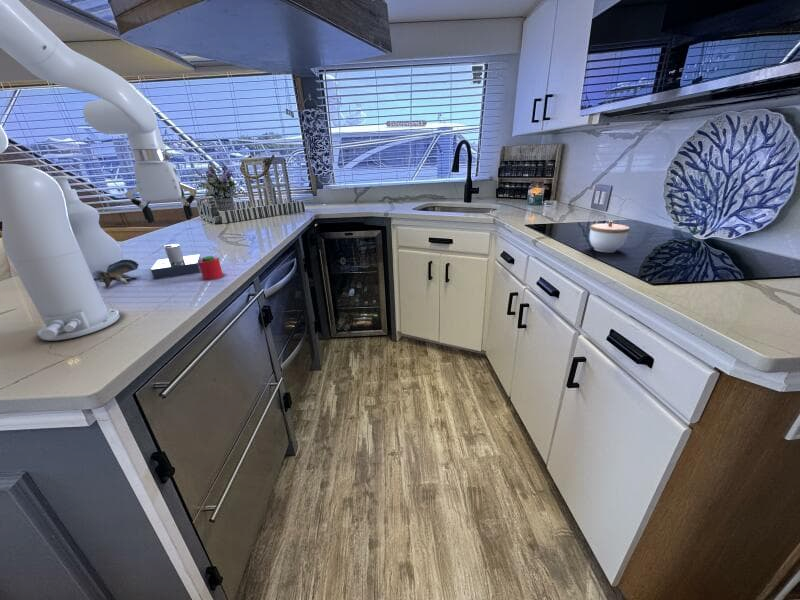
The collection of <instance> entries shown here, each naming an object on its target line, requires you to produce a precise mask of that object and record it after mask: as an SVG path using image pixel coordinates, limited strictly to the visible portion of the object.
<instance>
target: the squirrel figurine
mask: <svg viewBox="0 0 800 600" xmlns="http://www.w3.org/2000/svg"><path fill="white" fill-rule="evenodd" d="M138 268H139V263H137V261H135V260H132V259H123V260H120V261H118V262H116V263H114V264H111V265H109V266H108V269H107V272H103V271H100V270H97V271H95V272H93V275H94V276H95V277H97V279H101V280H99V281H98V282H99V283H104V284H105V289H108V288H110V286H111V283H112V282H113V281H116V282H121V283H124V284H126V285H128V282H127V280H126V279H137V277H134V276H130V275H128V274H126V273H130V272H133V271H136V270H138Z"/></svg>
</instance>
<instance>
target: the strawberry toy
mask: <svg viewBox="0 0 800 600" xmlns="http://www.w3.org/2000/svg"><path fill="white" fill-rule="evenodd" d="M198 262H199V266H200V273H201V275H202V278H203V280H205V281H211V280H217V279H220V278H222V277H224V273H223V269H222V266H221V262H220V258H219V257H214V256H213V255H209V256H207V255H206V256H203V257H201V260H200V261H198Z"/></svg>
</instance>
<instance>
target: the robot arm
mask: <svg viewBox="0 0 800 600" xmlns="http://www.w3.org/2000/svg"><path fill="white" fill-rule="evenodd" d="M0 49H1V50H2V51H4V52H5V53H6V54H8V55H9V56H10V57H11V58H13V59H14V61H16V62H17V63H18V64H20V66H23V68H25V69H26V70H27V71H29V72H30V73H31V74H32V75H34V76H35V77H37V78H39V79H41V80H43V81H45V82H49V83H51V84H54V85H57V86H60V87H63V88H68V89H72V90H75V91H80V92H83V93H87V94H89V95H93V96H95V97H98V98H100V99H93V100H90V101H88V102H86V103H85V105H84V106H83V107H82V108H83V109H82V115H83V117H84V120H85V121H86V122H87V124H88V125H89V126H90V127H91V128H92V129H93V130H94V131H97V132H99V133H101V134H103V135H108V136H124V135H125V136H126V138H127V140H128V143H129V146H130V150H131V152H132V155H133V159H134V161H135V163H133V173H134V180H135V183H136V186H134V187H132V188H131V189H130V190H128V191H126V192H125V193H124V196H126V198H128V200H130V202H131V203H132V204H134V205H135V206H137V207H138V208H139V209H141V210H142V213H143V216H144V219H145V220H146V221H147V222H148V224H152V223H154V222H155V218H154V217H155V216H154V214H153V211H152V209H151V207H149V205H150V203H151V202H159V201H160V202H161V201H174V200H178V201H179V202H180V203H182V204H183V206H182V208H183V211H184V214H185V215H184V216H185V219H186V220H188V221H190V220H192V218H193V216H194V214H193V211H192V206H191V205H192V204H193V202H194V200H195V198H196V195H197V191H198V190H197V188H194V187H191V186H189V185H186V184H183V183H182V181H181V179H180V176H179V173H178V171H177V168H176V166H175V165H174V162H170V159H173V158H174V154H173V152H170V151H167V150H166V148H165V144H164V141H163V137H162V134H161V131H160V127H159V123H158V118H157V115H156V113H155V111H154V109H153V108H152V107H151V105H150V103H149V102H148V101H147V100H146V99H145V98H144V97H143V96H142V94H141V93H140V92H139V91H138V90H137V89H136V88H135V87H134V86H133V85H132V84H131V83H129V81H127V80H126V79H125V78H124V77H122V75H121V76H120V74H118V73H117V72H114V71H113V70H111V69H109V68H108V67H106V66H104V65H102V64H100V63H99V62H97V61H95V60H93V59H91V58H89V57H88V56H85V55H83V54H81V53H79V52H77V51H75V50H73V49H71V48H70V47H69V46H68V45H67V44H66V43H64V42H63V41H62V40H61V39H60V38H59V37H58V36H57V35H56V34H55V33H54V32H53V31H52V30H51V29H50V28H48V27H47V25H46V24H45V23H43V21H41V20H40V19H39V18H38V17H37V16H36V15H35V14H34V13H33V12H32V11H30V9H29V8H28V7H26V5H24V3H22V2H21V1H20V0H0ZM8 146H9V138H8V135H7V134H6V131H5V129H4V127H3V126H2V124H0V154H2V153H4V152H5V151H6V150H7V148H8ZM185 191H187V192H189V196H188V198H187V197H185V196H186V194H185ZM137 193H138V194H139V196H140V197H139V198H141V200H140V199H138V198H136V196H135V195H136V194H137ZM0 222H2V223H1V224H2V228H1V241H2V242H1V243H2V246H3V249H4V251H5V253H6V255H7V257H8V259H9V261H10V262H11V264H12V266H13V268H14V270H15V271H16V273H17V275H18V277H19V279H20V281H21V283H22V284H23V286H24V288H25V290H26V292H27V294H28V295H29V297H30V299H31V301H32V303H33V305H34V307H35V308H36V311H37V312H38V314H39V316H40V318H41V320H42V321H43V323H44V325H43V326H42V327H41V328H40V329H38V331H37V336H38V338H39V339H40V340H42V341H49V342H50V341H51V342H53V341H54V342H55V341H63V340H70V339H73V338H79V337H83V336H86V335H89V334H93V333H95V332H98V331H101V330H103V329H106V328H107V327H109V326H111V325H113V324H115V323H116V322H117V321H118V320H119V319H120V316H121V315H120V312H119V311H118V310H116V309H113V308H107V306H106V304H105V302H104V299H103V297H102V295H101V293H100V291H99V288H98V286H97V284H96V281H95V279H93V277H92V275H91V272H90V270H89V268H88V265H87V263H86V261H85V259H84V256H83V254H82V252H81V250H80V248H79V245H78V243H77V241H76V239H75V236H74V234H73V231H72V228H71V225H70V222H69V219H68V214H67V209H66V202H65V198H64V195H63V192H62V189H61V188H60V186H59V185H58V183H57V181H56V179H53V178H52V176H51V175H50V174H48V173H47V172H46V171H43V170H41V169H39V168H36V167H33V166H30V165H26V164H25V165H24V164H18V163H0Z"/></svg>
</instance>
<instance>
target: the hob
mask: <svg viewBox="0 0 800 600" xmlns="http://www.w3.org/2000/svg"><path fill="white" fill-rule="evenodd" d="M183 258H184V261H182V262H178V263H169V260H168V258H163V259H157V260H156V262H155V263H154V264H153V266H152V267H151V269H150V272H151V274H152V277H153V279H154V280H159V279H163V278H171V277H177V276H184V275H190V274H194V273H195V274H196V273H197V274H198V273H201V269H200V266H199V262H198V261H200V260H202V257H201V255H200V254H193V255H185V256H183Z"/></svg>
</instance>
